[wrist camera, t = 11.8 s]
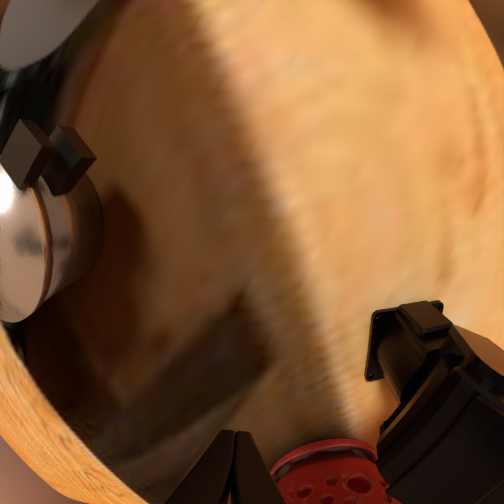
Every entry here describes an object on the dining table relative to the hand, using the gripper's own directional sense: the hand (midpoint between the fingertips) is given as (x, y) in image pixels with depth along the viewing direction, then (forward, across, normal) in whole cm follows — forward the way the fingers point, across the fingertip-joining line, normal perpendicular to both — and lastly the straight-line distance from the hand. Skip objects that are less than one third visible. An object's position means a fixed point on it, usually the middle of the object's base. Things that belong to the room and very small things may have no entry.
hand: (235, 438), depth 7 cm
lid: (+7, +18, 0) cm, 19 cm away
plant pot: (+13, -10, +21) cm, 26 cm away
